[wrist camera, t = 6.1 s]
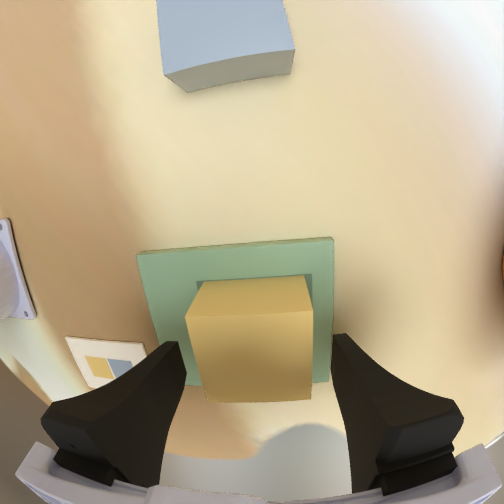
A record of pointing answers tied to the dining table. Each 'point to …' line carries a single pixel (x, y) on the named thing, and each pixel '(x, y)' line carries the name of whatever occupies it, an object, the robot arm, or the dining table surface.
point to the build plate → (235, 268)
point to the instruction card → (104, 358)
